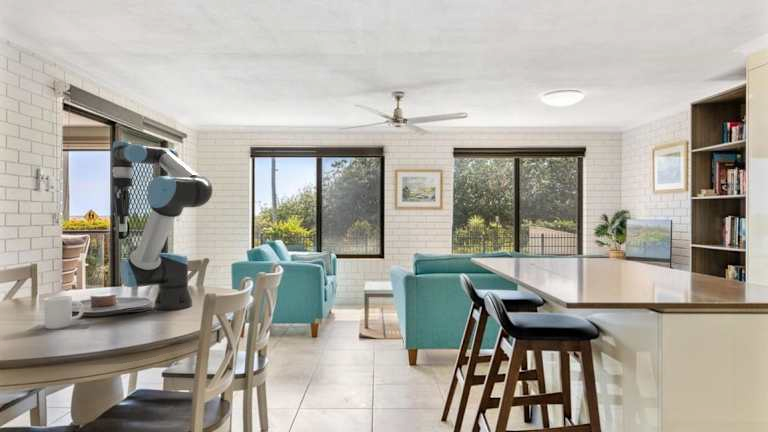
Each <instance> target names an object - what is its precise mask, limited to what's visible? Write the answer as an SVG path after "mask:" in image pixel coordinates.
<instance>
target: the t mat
mask: <svg viewBox="0 0 768 432" xmlns="http://www.w3.org/2000/svg"><path fill="white" fill-rule="evenodd" d="M84 321H86V319H77V320H74V321H72V324H71V325H70V326H68V327H65V328H59V329H47V328H45V325H44V324H37V325H35V326H33V327H31V328H29V329H28V330H26V332H33V331H34V332H36V331H41V332H42V331H60V330H61V331H62V330H67V331H68V330H87V329H88V328H90V327H91V326H93V325H96V324H95V323H96V322H89V323H88V322H87V323H86V322H85V323H84Z"/></svg>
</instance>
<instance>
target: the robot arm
mask: <svg viewBox="0 0 768 432" xmlns="http://www.w3.org/2000/svg"><path fill="white" fill-rule="evenodd" d="M111 151H112V169H111V172H112V177H113V178H112V186H114V187H117V188H116V192H114V198H115V205H116V206H115V207H116V217H118V232H119V233H121V232H126V233H127V232H128V222H127V221H128V217H130V213H129V212H130V202H131V193H130V191H129V188H131V187H133V178H132V177H133V174H134V173H133V171H134V170H133V164H147V165H158V166H160V167H161V168H162V169H163V170H164V171H165V172H167V174H168V175H158V176H155V177H154V178H153V179H152V180H151V181H150V183H148V186H147V190H146V192H147V194H146V199H147V203H148V205H149V208H150V209H151V211H150V214H149V216H148V219H147V222H146V224H145V227H144V230H143V233H142V235H141V238H140V241H139V243H138V246H137V248H136V249H135V250H133V251H132V252H131V253H130V256H129V258H124V259H122V260H121V261H120V263H119V271H120V278H121V281H122V282H123V285H124V286H126V287H127V288H140V287H150V286H154V285H155V286H156V285H158V291H157V294H156V297H155V300H154V301H153V302H154V304H153V305H154V306H153V308H154V309H156V310H160V311H171V310H181V309H186V308H189V307H192V306H193V298H192V296H191V293H190V291H189V261H188V259H189V258H188V256H187V255H186V254H181V253H170V252H169V253H168V252H162V250H163V248H164V246H165V244H166V240H167V238H168V236H169V233H170V230H171V229H172V227H173V224H174V221H175V219H176V218H177V217H179V216H180V215H182V213H183V210H184V208H199V207H202V206H204V205H206V204H207V203H208V202H209V201H210V199H211V198H212V195H213V186H212V183H211V182H210V180H209V179H208V178H207V177H206V176H205V175H203V174H201V173H197V172H196V171H194V170H193V169H192V168H191V167H190V166H189V165H187V164H186V163H185V162H183V160H181V159H180V158H179V154H178V151H177V150H176V149H174V148H169V147H159V146H150V145H141V144H140V143H138V144H135V143H131V142H130V141H118V140H117V141H113V143H112V149H111Z"/></svg>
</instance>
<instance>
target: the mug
mask: <svg viewBox="0 0 768 432" xmlns="http://www.w3.org/2000/svg"><path fill="white" fill-rule="evenodd" d="M73 305H76V306H78V308H79V312H78V314H77V315H74V316H73ZM84 307H85V306H84V304H83V303H82V302H81V301H79V300H76V299H75V300H74V299H73V297H72V296H71V295H70V296H69V295H59V296H58V295H57V296H49V297H46V298H44V299H43V313H44V314H43V315H44V318H43V320H44V322H43V325H45V328H47V329H59V328H65V327H68V326H70V325H71V324H72V321H74V320H80V318H82V316H83V315H84V312H85V308H84Z"/></svg>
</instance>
